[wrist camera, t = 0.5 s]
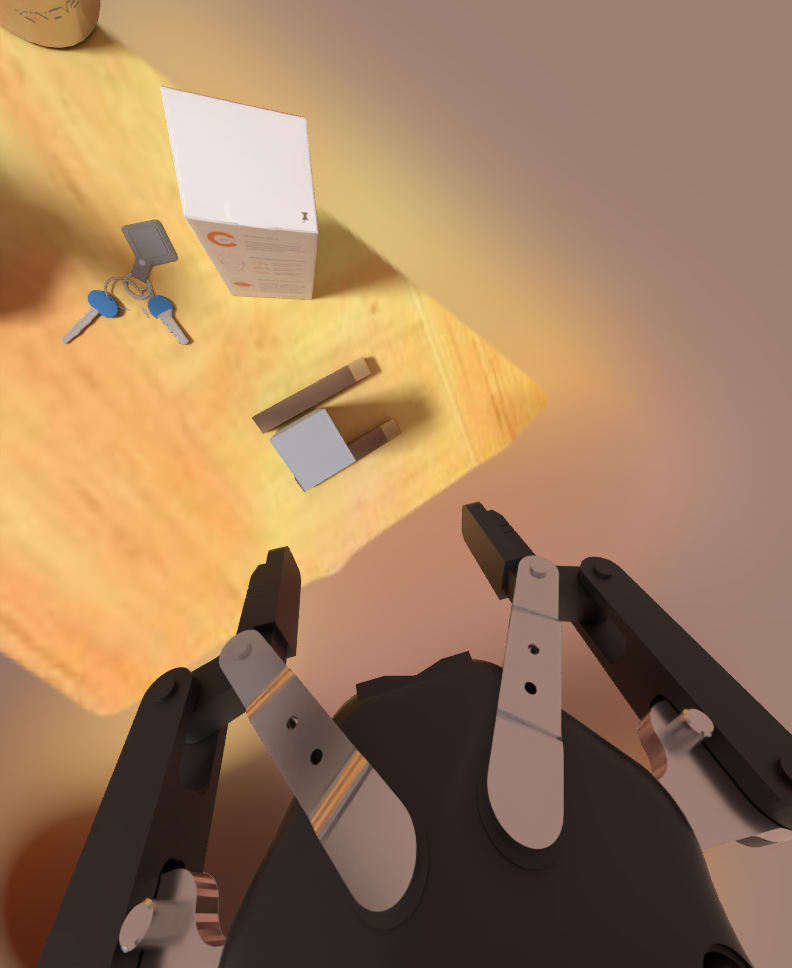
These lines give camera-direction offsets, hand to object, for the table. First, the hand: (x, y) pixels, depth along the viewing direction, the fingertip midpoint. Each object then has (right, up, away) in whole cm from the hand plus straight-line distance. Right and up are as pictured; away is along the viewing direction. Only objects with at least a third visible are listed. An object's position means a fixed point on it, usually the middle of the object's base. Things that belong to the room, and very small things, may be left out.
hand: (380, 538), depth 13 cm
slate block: (-10, +8, +22) cm, 25 cm away
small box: (-12, +25, +17) cm, 33 cm away
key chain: (-23, +20, +15) cm, 34 cm away
